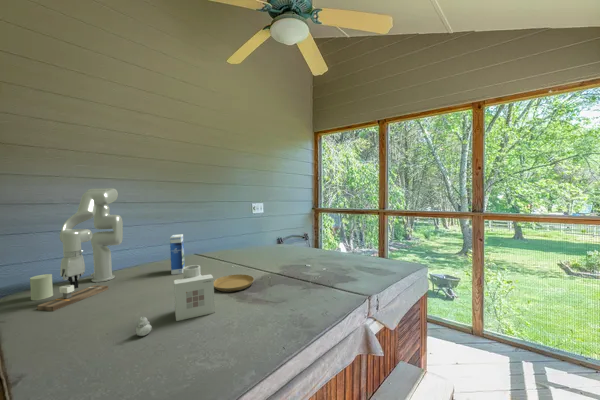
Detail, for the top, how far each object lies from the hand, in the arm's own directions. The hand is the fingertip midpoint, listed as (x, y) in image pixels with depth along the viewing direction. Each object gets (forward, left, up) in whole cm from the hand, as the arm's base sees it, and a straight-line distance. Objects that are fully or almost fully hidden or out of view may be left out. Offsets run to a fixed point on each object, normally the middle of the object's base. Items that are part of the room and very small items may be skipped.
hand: (74, 288), depth 149 cm
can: (-22, 0, -6) cm, 23 cm away
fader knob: (0, -4, -4) cm, 5 cm away
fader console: (0, +1, -6) cm, 6 cm away
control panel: (+73, -2, -6) cm, 73 cm away
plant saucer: (+77, +32, -7) cm, 83 cm away
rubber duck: (+67, -26, -6) cm, 72 cm away
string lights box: (+24, +54, -6) cm, 59 cm away
